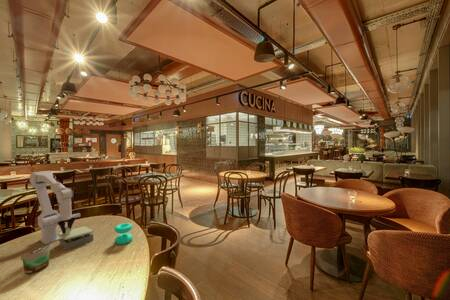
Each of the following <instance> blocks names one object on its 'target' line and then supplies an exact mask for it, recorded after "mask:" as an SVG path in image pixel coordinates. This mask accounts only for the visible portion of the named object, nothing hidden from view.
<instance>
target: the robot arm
mask: <svg viewBox="0 0 450 300" xmlns="http://www.w3.org/2000/svg"><path fill="white" fill-rule="evenodd" d="M53 174H54V173H53V171H52V170H46V171H45V170H43V171H36V172H34V171H33V172H31V173H30V175H29V182H30V185H31V187H32V188H34V189H35V192H36V195H37V201H38V203H39V205H40V206H39V207H40V210H41V212H40V214H39V215H38V216H37V225H38V227H39V229H40V232H41V233H40V235H41V238H40V239H39V241H40V242H41V243H42V244H43V245H47V243H49V244H50V243H52V242H55V241H59V239H61V237H60V236H58V235H57V233H59V232H58V226H59V227H60V229H61V232H62V233H63V234H64V233H65V226H66V223H67V227H69V228H70V231H71V230H72V227H73V225H74V223H75V220H76V219H75V218H80V217H81V213H80V212H78V213H73V212H72V211H73V210H72V198H73V197H74V192H73V189H72V188H68V187H66V186H65V185H63V183H61V182H60V181H57V180H56V179H55V178H54V175H53ZM47 185H48V186H49V187H50V190H51V192H52V193H54V194H55V196H56V197H55V198H56V200H57V203H58V210H59V211H57V210H55V209H53V208H52V205H51V200H50V197H49V194H48V189H47ZM72 213H73V214H72ZM65 221H66V222H65Z"/></svg>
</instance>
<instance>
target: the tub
mask: <svg viewBox="0 0 450 300" xmlns="http://www.w3.org/2000/svg"><path fill="white" fill-rule="evenodd" d="M92 241H94V234H93V233H89V234H86V235H83V236H79V237H75V238H72V239H68V240H64V239H63V238H61V237H60V239H59V240H58V244H59V246H61V247H62V248H63V249H65V250H66V251H68V250H71V249H73V248H76V247H79V246H81V245H84V244H86V243H90V242H92Z"/></svg>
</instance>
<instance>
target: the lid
mask: <svg viewBox="0 0 450 300" xmlns="http://www.w3.org/2000/svg"><path fill="white" fill-rule="evenodd" d="M89 233H91V234H93V233H94V230H93V229H91V228H90V227H87V226H86V225H85V226H81V227H76V228H73V229H72V228H71V231H70V228H69V227H68V225H65V233H64V234H63V233H62V231H60V232H58V233H57V235H58V237H59V238H60V239H61V238H63V239H64V240H68V239H72V238H75V237H79V236H83V235H86V234H89Z"/></svg>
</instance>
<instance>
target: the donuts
mask: <svg viewBox="0 0 450 300" xmlns="http://www.w3.org/2000/svg"><path fill="white" fill-rule="evenodd" d="M132 229H133V224H132V223H129V222H123V223H120V224H116V226H115V227H114V232H115V233H117V234H119V235H117V236H116V237H115V238H114V243H116V244H117V245H125V244H129V243H130V242H131V241H132V240H133V239H134V236H133V234H132V233H129V232H130V231H131V230H132Z"/></svg>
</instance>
